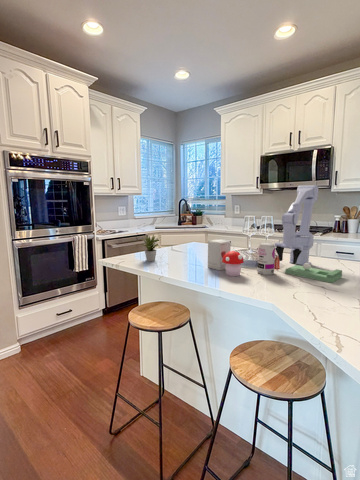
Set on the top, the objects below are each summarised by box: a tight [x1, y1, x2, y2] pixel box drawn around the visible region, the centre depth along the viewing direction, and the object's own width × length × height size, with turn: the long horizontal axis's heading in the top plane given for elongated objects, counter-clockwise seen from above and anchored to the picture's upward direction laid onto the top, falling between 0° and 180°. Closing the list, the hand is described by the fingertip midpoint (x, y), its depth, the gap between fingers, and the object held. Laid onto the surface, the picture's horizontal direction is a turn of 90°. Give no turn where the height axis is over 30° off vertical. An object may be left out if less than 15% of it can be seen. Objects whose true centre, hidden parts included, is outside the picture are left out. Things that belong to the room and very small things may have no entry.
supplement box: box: [207, 238, 232, 271], centre depth 149 cm, size 9×9×15 cm
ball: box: [302, 263, 312, 270], centre depth 136 cm, size 4×4×4 cm
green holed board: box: [284, 264, 343, 284], centre depth 134 cm, size 22×12×4 cm, turn 42°
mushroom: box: [222, 249, 245, 277], centre depth 136 cm, size 11×11×12 cm
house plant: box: [140, 233, 162, 262], centre depth 166 cm, size 14×14×16 cm
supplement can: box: [256, 242, 276, 276], centre depth 138 cm, size 8×8×15 cm
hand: (287, 261), depth 143 cm, fingers open, 7 cm apart
